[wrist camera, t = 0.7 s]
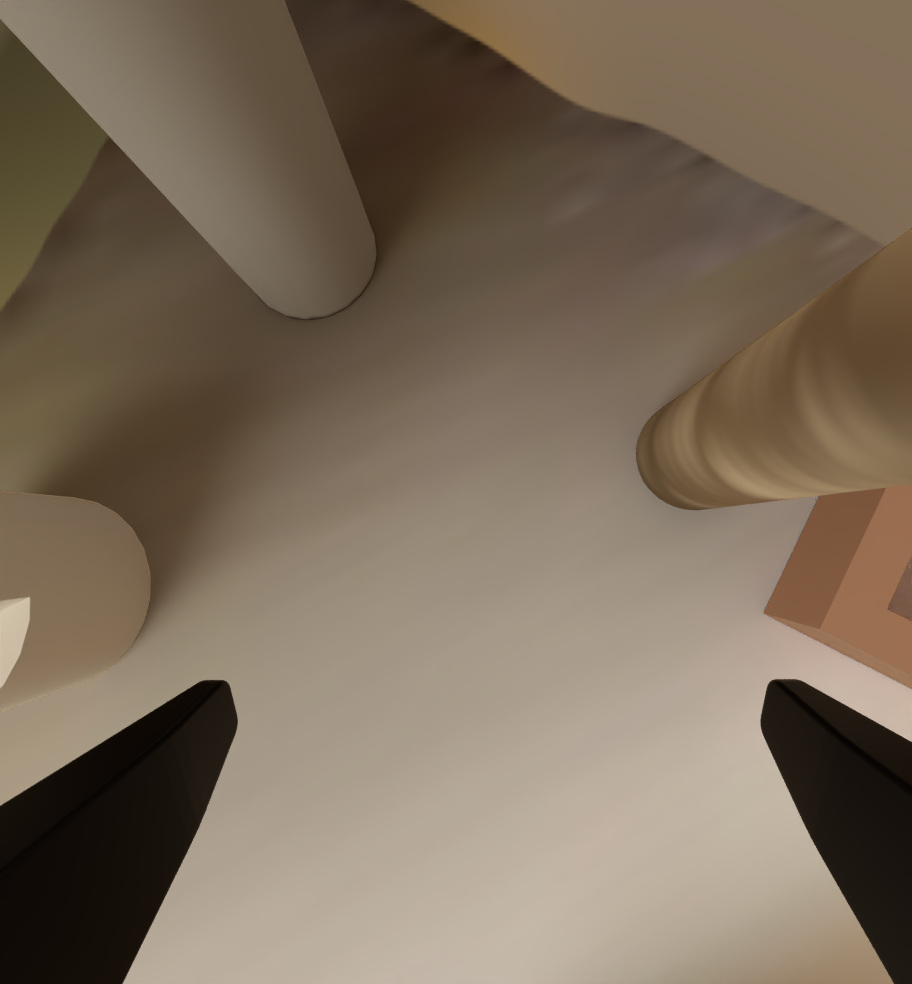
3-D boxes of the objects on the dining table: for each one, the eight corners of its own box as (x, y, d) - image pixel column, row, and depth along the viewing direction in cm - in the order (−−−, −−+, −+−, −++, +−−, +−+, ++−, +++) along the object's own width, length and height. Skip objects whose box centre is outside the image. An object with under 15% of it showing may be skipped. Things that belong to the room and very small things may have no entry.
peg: (768, 485, 21) (1213, 407, 8) (663, 526, 21) (937, 513, 8) (721, 384, 22) (1068, 161, 9) (618, 425, 22) (811, 264, 9)
